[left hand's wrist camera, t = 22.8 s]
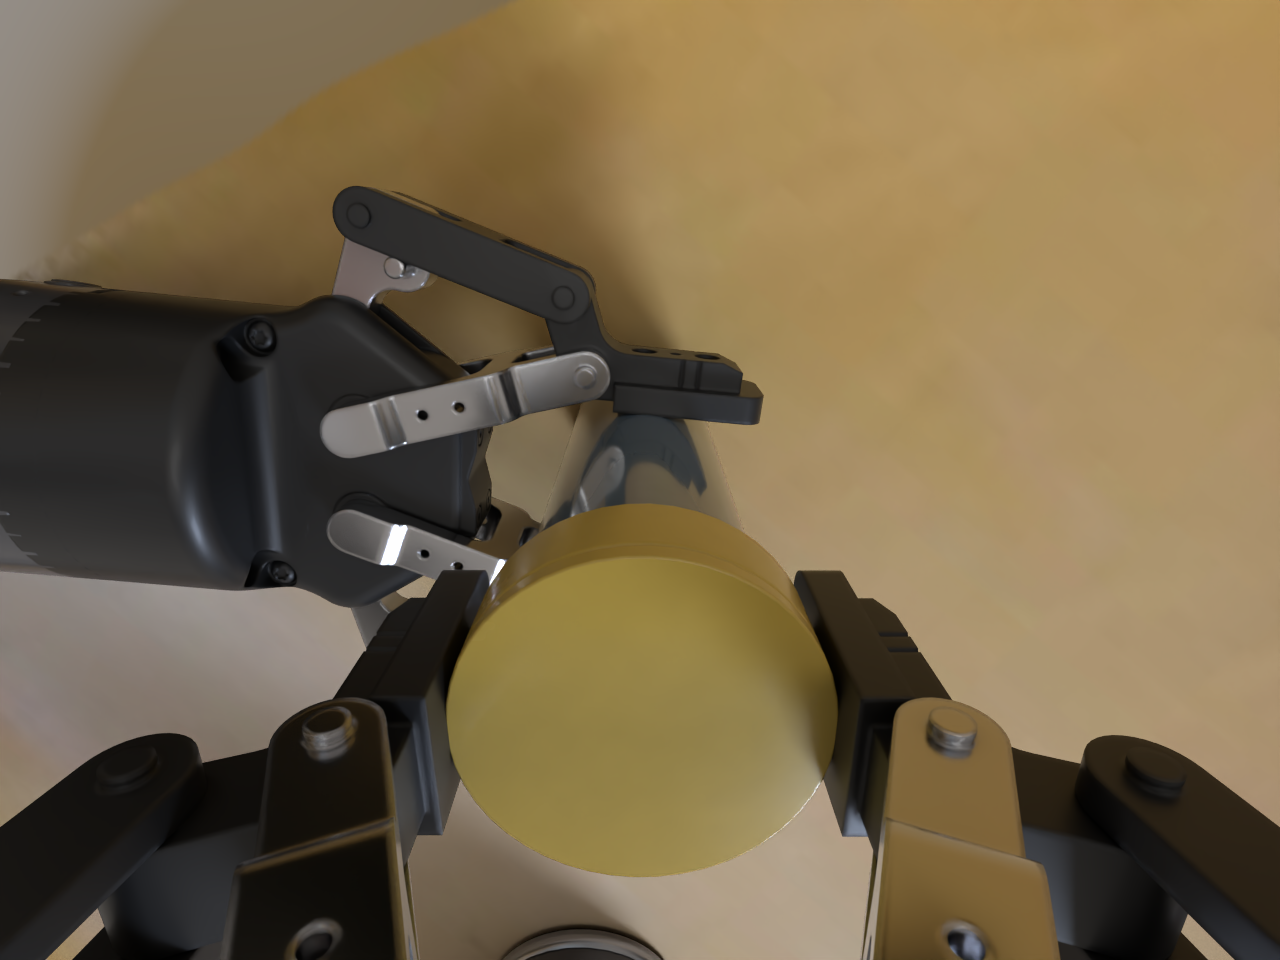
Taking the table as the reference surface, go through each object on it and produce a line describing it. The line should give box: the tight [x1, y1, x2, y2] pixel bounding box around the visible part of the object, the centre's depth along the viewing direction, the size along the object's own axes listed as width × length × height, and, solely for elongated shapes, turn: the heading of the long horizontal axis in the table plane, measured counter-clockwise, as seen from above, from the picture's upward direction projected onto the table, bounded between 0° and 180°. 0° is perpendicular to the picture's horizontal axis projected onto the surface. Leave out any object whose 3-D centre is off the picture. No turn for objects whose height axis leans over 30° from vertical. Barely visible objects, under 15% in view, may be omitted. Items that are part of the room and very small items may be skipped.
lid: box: [446, 504, 838, 877], centre depth 10 cm, size 5×5×2 cm
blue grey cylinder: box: [538, 400, 745, 534], centre depth 17 cm, size 4×4×16 cm
